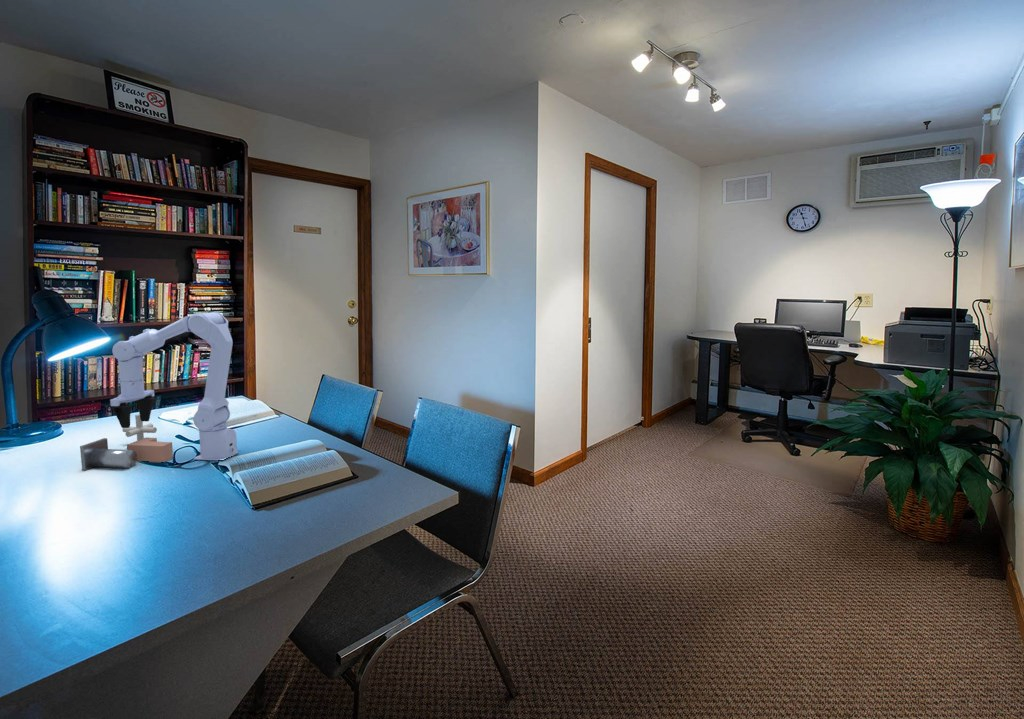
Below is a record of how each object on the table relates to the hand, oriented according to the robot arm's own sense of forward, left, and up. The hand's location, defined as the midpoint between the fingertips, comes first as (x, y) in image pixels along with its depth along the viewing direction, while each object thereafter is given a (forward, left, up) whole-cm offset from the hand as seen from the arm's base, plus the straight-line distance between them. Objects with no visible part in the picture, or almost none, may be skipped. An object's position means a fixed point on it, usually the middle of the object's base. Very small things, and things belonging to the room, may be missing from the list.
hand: (135, 424), depth 158 cm
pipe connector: (+7, -10, -10) cm, 15 cm away
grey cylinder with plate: (-1, +10, -10) cm, 14 cm away
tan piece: (-7, +2, -10) cm, 12 cm away
